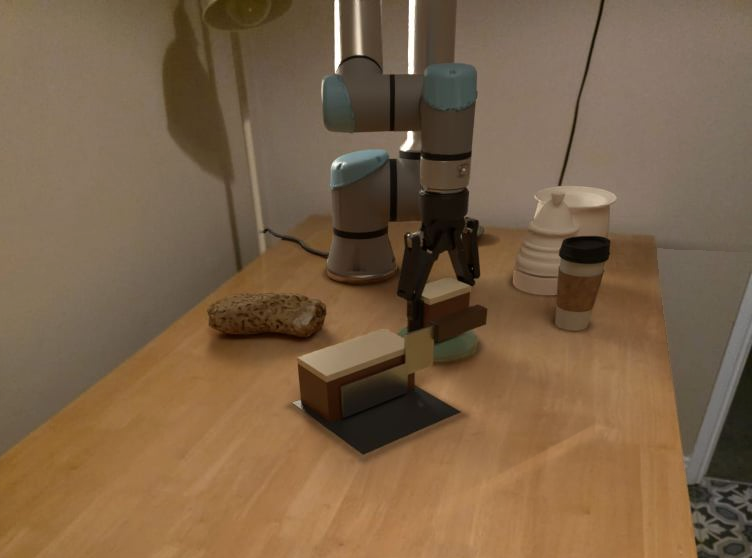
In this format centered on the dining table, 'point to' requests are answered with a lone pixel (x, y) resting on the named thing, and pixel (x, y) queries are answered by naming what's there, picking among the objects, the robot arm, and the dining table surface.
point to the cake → (346, 369)
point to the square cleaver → (408, 360)
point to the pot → (583, 207)
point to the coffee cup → (579, 279)
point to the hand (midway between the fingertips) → (437, 328)
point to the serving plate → (452, 346)
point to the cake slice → (443, 298)
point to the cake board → (387, 420)
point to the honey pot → (544, 247)
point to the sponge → (267, 314)
